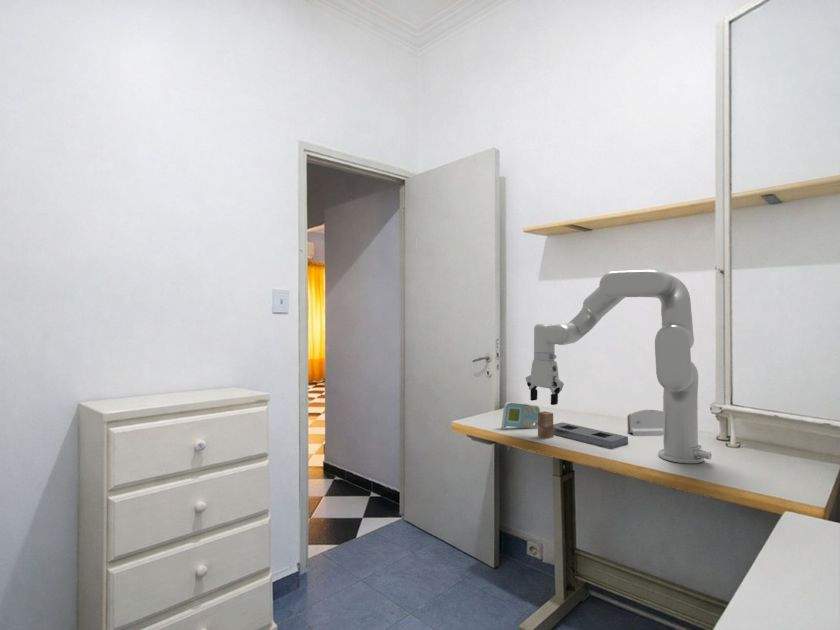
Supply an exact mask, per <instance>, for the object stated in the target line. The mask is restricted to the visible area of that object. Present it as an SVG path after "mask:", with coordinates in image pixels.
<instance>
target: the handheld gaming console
mask: <svg viewBox="0 0 840 630" xmlns="http://www.w3.org/2000/svg"><path fill="white" fill-rule="evenodd" d="M538 412H541V409H540V407H539V406H538V405H536V404H529V403H525V402H515V401H506V402H505V403H504V405H503V412H502V421H501V430H503V429H504V430H506V428H507V427H511V428H513V427H514V428H522V429H526V428H528V429H529V428H530V429H538Z"/></svg>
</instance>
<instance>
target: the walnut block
mask: <svg viewBox="0 0 840 630" xmlns="http://www.w3.org/2000/svg"><path fill="white" fill-rule="evenodd" d="M553 424H554V413H553V412H550V411H540V412H538V428H537V437H538V436H539V438H542V437H543V438H542V439H545V438H546V439H551V438H554V434H553Z"/></svg>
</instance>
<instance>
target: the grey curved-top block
mask: <svg viewBox="0 0 840 630" xmlns="http://www.w3.org/2000/svg"><path fill="white" fill-rule="evenodd" d="M626 418H627V420H626V421H627V422H626V423H627V434H632V437H659V436H660V437H661V435H664V433H663V410H657V409H640V410H637V411H633V412H631V413H629V414H628V415H627V417H626Z"/></svg>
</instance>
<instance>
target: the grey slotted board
mask: <svg viewBox="0 0 840 630" xmlns="http://www.w3.org/2000/svg"><path fill="white" fill-rule="evenodd" d="M554 435H555V436H559V437H563V438H567V439H570V440H571V439H572V440H575V441H579V442H583V443H586V444H591V445H595V446H600V447H603V448H608V449H611V450H612V449H615V448H619V447H621V446H625V445H628V444H629V436H626V435H622V434H617V433H613V432H609V431H605V430H599V429H595V428H590V427H587V426H581V425H577V424H572V423H566V422H557V423H553V436H554Z"/></svg>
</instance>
